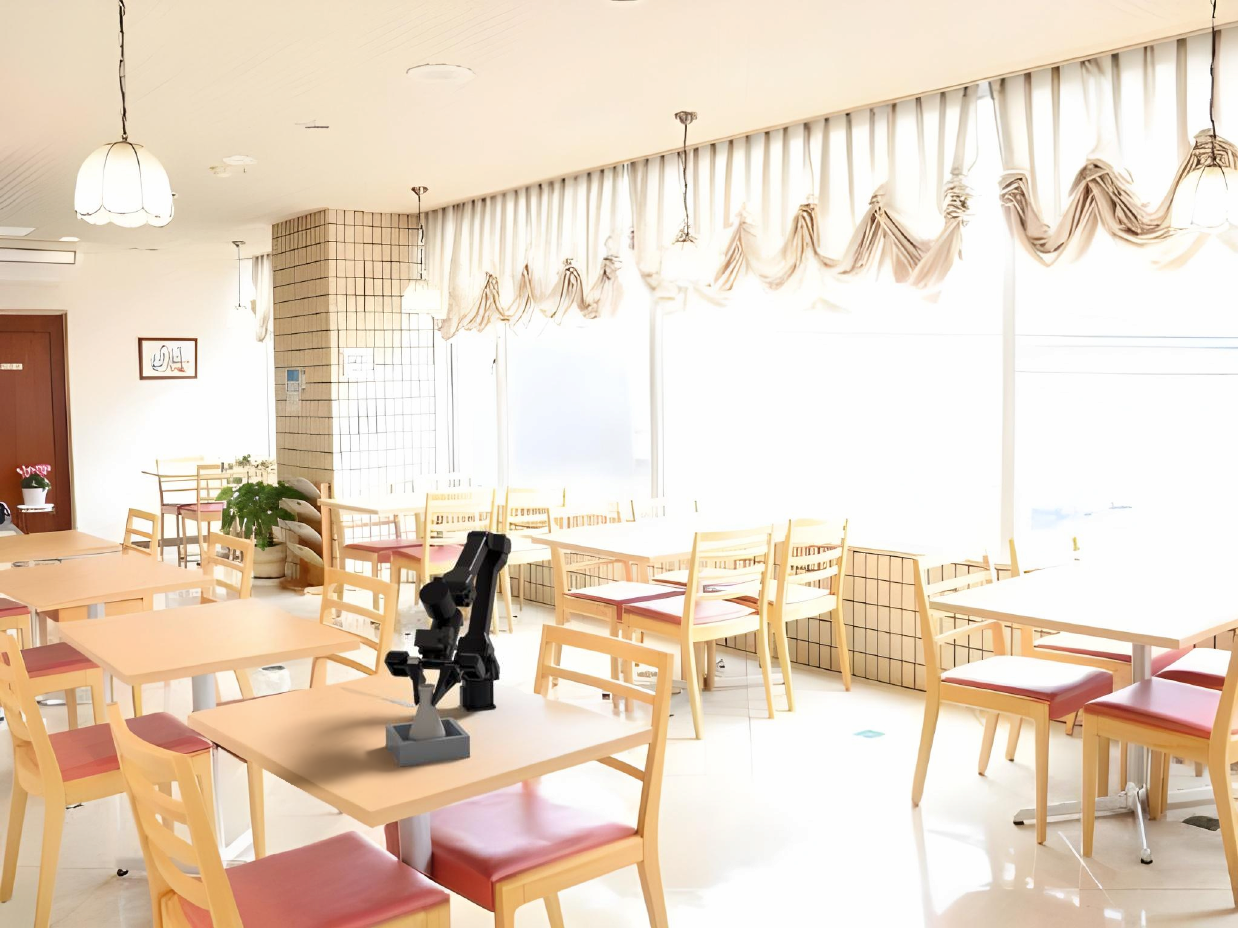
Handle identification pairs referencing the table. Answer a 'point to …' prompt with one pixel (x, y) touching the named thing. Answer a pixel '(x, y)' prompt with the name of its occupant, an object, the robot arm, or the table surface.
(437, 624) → the robot arm
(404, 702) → the butter knife
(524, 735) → the table surface
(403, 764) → the tray
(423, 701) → the flask
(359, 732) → the table surface
